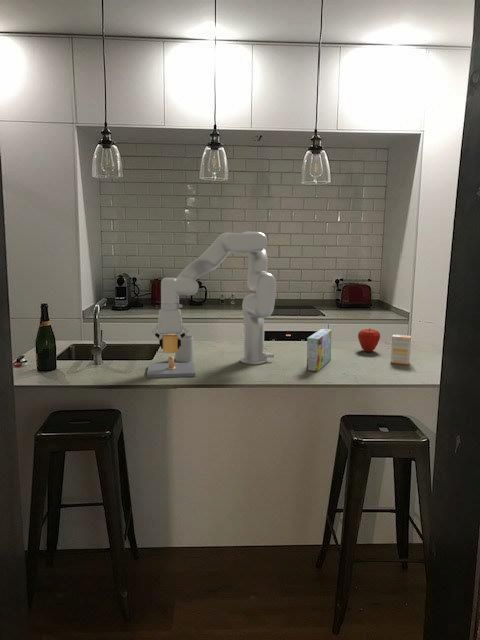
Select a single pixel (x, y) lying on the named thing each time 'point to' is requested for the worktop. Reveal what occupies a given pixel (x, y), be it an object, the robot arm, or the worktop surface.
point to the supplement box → (400, 349)
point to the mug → (185, 350)
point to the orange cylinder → (170, 343)
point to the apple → (368, 339)
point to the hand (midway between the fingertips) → (170, 347)
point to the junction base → (171, 369)
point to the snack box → (318, 349)
